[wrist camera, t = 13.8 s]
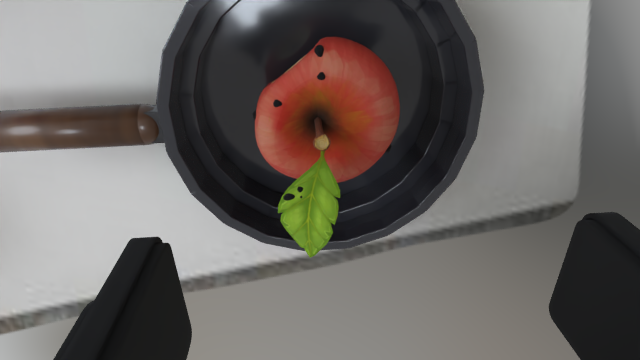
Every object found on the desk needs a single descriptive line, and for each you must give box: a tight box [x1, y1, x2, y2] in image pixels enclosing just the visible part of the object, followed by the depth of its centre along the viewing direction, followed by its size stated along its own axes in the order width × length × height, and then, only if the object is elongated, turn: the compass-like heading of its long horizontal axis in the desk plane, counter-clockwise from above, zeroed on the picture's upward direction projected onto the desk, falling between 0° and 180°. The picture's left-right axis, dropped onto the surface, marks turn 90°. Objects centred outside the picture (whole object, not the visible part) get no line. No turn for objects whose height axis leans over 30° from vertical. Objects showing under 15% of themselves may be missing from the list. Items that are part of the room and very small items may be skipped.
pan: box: [156, 0, 484, 251], centre depth 22 cm, size 16×16×4 cm
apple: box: [252, 37, 400, 257], centre depth 19 cm, size 8×7×10 cm
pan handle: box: [0, 104, 165, 152], centre depth 20 cm, size 12×2×2 cm, turn 92°
